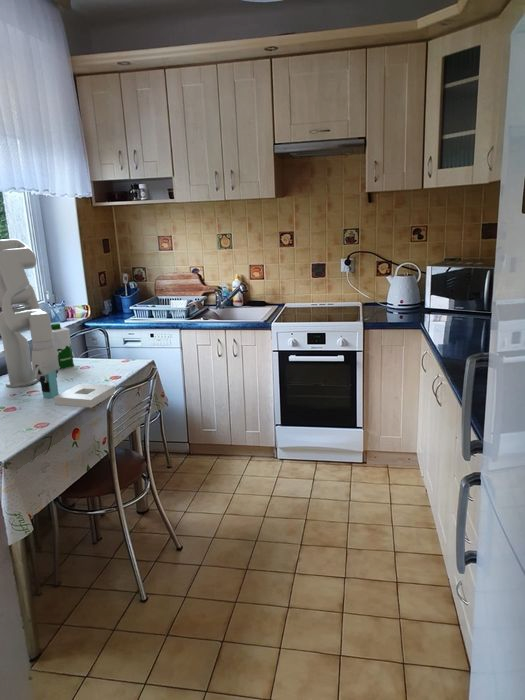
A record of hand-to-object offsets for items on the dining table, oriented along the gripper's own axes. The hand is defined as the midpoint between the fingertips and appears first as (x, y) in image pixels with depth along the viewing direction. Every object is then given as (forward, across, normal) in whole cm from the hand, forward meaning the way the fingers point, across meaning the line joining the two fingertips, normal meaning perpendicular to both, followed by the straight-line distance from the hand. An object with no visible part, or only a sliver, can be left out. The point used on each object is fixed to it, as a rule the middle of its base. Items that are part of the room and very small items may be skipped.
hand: (49, 389), depth 207 cm
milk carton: (+3, -37, -22) cm, 43 cm away
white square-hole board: (+3, -3, +16) cm, 17 cm away
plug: (+3, 0, 0) cm, 3 cm away
